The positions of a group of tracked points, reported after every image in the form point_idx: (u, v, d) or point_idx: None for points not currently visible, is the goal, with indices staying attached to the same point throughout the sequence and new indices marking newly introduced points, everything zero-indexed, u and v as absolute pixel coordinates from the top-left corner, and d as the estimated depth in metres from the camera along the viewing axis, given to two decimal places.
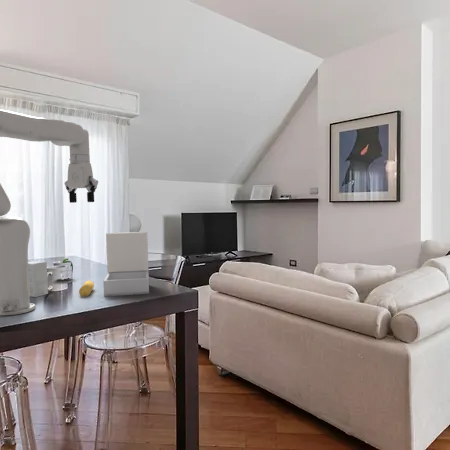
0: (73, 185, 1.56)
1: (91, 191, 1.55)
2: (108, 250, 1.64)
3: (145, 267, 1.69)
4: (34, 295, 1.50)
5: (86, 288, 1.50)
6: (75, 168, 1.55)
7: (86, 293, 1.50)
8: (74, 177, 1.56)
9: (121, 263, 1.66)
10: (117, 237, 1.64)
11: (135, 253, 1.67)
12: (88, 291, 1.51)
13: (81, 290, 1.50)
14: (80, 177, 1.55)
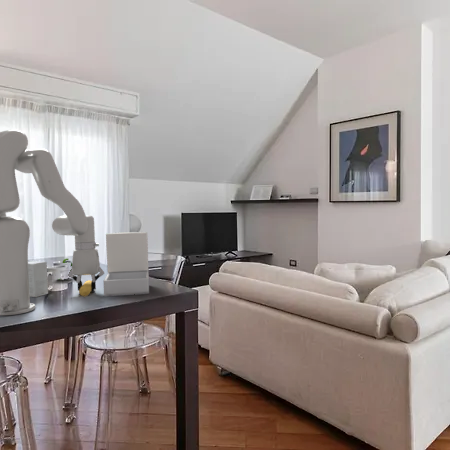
0: None
1: None
2: (108, 250, 1.64)
3: (145, 267, 1.68)
4: (34, 295, 1.50)
5: (86, 288, 1.50)
6: None
7: (86, 293, 1.50)
8: None
9: (121, 263, 1.66)
10: (117, 237, 1.64)
11: (135, 253, 1.66)
12: (88, 291, 1.51)
13: (81, 290, 1.50)
14: None
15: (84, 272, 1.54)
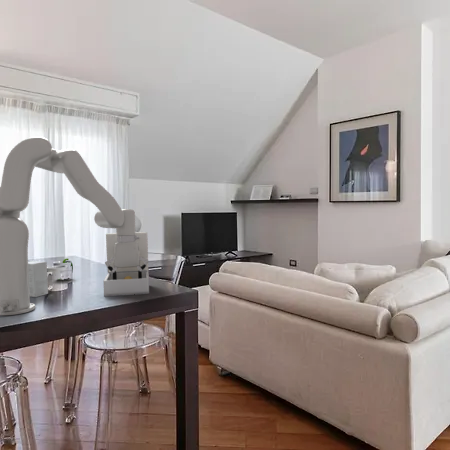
0: None
1: None
2: (108, 250, 1.64)
3: (145, 267, 1.68)
4: (34, 295, 1.50)
5: None
6: None
7: None
8: None
9: None
10: None
11: None
12: None
13: None
14: None
15: (125, 264, 1.57)
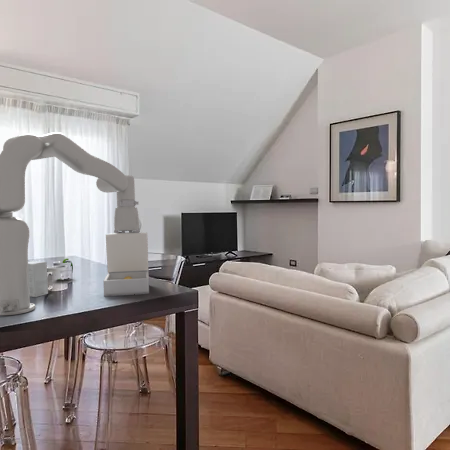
0: None
1: None
2: (108, 251, 1.63)
3: (145, 267, 1.68)
4: (34, 295, 1.50)
5: None
6: None
7: None
8: None
9: (121, 263, 1.66)
10: (117, 238, 1.63)
11: (135, 253, 1.66)
12: None
13: None
14: None
15: (125, 228, 1.65)
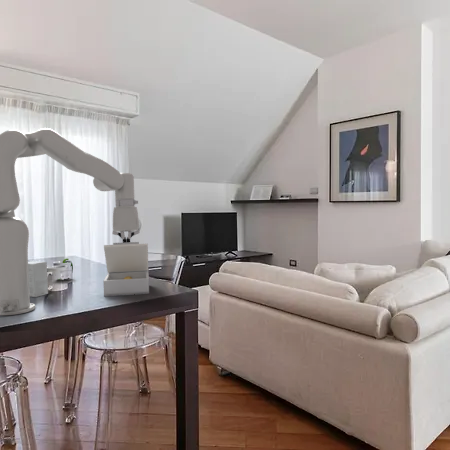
0: None
1: None
2: (107, 258, 1.59)
3: (145, 268, 1.68)
4: (34, 295, 1.50)
5: None
6: None
7: None
8: None
9: (121, 266, 1.64)
10: (116, 249, 1.56)
11: (135, 260, 1.62)
12: None
13: None
14: None
15: (124, 228, 1.57)
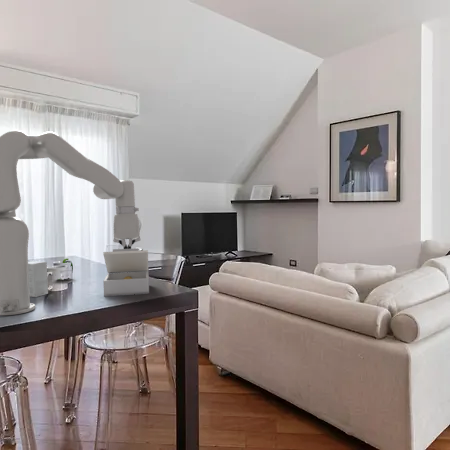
0: None
1: None
2: (107, 262, 1.58)
3: (145, 269, 1.67)
4: (34, 295, 1.50)
5: None
6: None
7: None
8: None
9: (121, 268, 1.64)
10: (116, 255, 1.54)
11: (135, 263, 1.61)
12: None
13: None
14: None
15: (125, 236, 1.56)
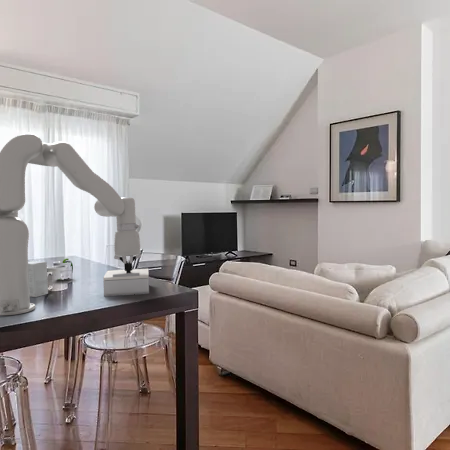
0: None
1: None
2: None
3: None
4: (34, 295, 1.50)
5: None
6: None
7: None
8: None
9: None
10: None
11: None
12: None
13: None
14: None
15: (126, 253, 1.57)
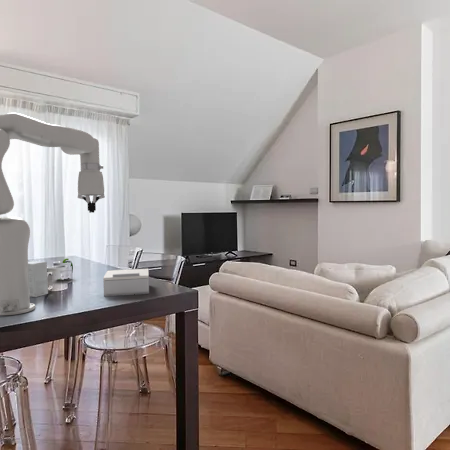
0: None
1: None
2: None
3: None
4: (34, 295, 1.50)
5: None
6: None
7: None
8: None
9: None
10: None
11: None
12: None
13: None
14: None
15: (89, 192, 1.60)
